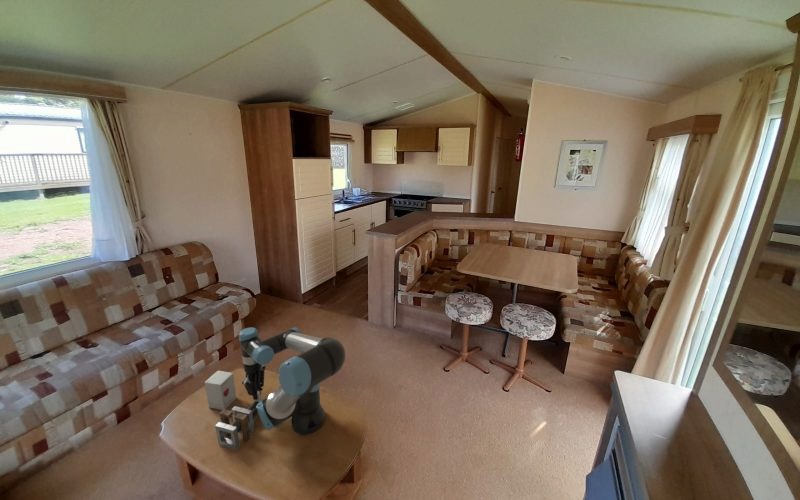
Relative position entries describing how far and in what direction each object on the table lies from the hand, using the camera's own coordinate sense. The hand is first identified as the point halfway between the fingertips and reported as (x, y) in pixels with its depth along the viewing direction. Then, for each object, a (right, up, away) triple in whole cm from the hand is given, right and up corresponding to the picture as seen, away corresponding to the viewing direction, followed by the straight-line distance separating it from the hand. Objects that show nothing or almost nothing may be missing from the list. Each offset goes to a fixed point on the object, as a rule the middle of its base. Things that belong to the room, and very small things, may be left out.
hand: (258, 402), depth 150 cm
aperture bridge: (-4, -9, -12) cm, 15 cm away
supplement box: (-20, -3, +7) cm, 22 cm away
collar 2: (-3, -8, -8) cm, 11 cm away
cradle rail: (0, -5, +2) cm, 5 cm away
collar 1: (-5, -11, -16) cm, 20 cm away
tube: (-2, -5, -7) cm, 9 cm away
